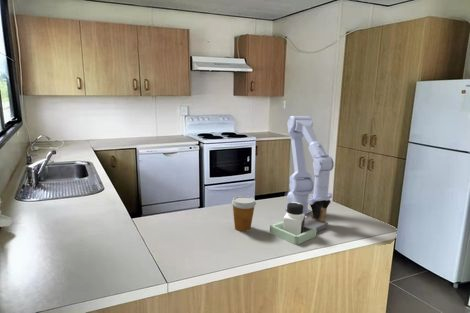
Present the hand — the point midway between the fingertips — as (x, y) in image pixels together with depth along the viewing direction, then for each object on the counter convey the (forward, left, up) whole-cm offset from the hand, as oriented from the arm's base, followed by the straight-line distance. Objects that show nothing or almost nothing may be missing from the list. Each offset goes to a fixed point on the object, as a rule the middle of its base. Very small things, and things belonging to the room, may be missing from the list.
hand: (318, 217), depth 135 cm
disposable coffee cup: (-16, -28, -3) cm, 33 cm away
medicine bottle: (-1, -16, -3) cm, 16 cm away
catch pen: (0, -16, -3) cm, 16 cm away
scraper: (0, -5, -3) cm, 5 cm away
